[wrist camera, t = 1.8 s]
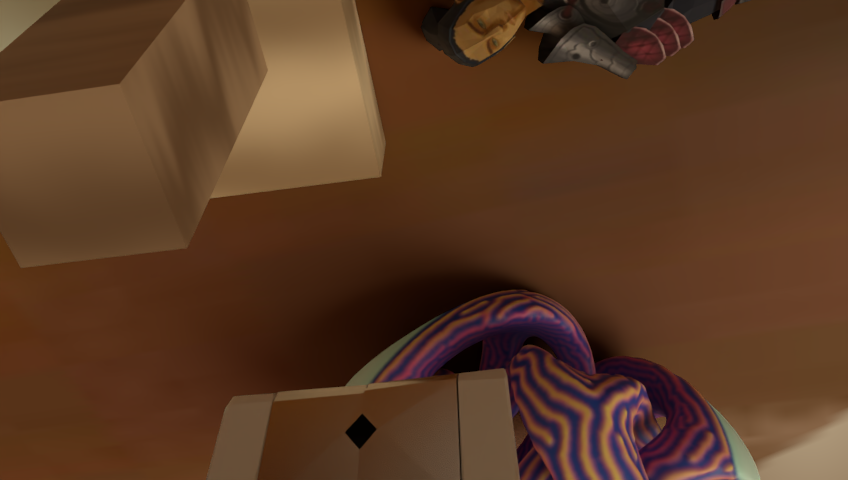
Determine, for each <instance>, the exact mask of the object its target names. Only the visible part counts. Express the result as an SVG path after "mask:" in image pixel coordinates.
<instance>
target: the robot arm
mask: <svg viewBox="0 0 848 480" xmlns="http://www.w3.org/2000/svg"><path fill="white" fill-rule="evenodd" d="M206 480H520V475H519V467H518V459H517V451H516V443H515V435H514V427H513V419H512V410H511V402H510V394H509V386H508V378H507V373H506V370H505V369H504V368H501V369H492V370H483V371H475V372H466V373H459V376H458V373H457V374H448V375H440V376H431V377H422V378H414V379H405V380H396V381H388V382H379V383H370V384H368V385H357V386H345V387H332V388H320V389H307V390H295V391H282V392H278V393H269V394H256V395H243V396H233V398H232V399H231V401H230V402H229V404H228V405H227V406H226V408H225V410H224V414H223V418H222V422H221V425H220V429H219V433H218V437H217V441H216V444H215V448H214V452H213V456H212V459H211V463H210V467H209V471H208V475H207V478H206Z"/></svg>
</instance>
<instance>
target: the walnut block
mask: <svg viewBox="0 0 848 480" xmlns="http://www.w3.org/2000/svg"><path fill="white" fill-rule="evenodd" d="M267 72H268V68H267V65H266V62H265V58H264V55H263V51H262V48H261V45H260V41H259V38H258V34H257V31H256V28H255V24H254V21H253V17H252V14H251V11H250V7H249V4H248V1H247V0H60V1H59V2H58V3H57V4H55V5H54V6H53V7H52V8H51V9H50V10H49V11H47V12H46V13H45V14H44V15H43V16H42V17H40V18H39V19H38V20H37V21H36V22H35V23H34V24H32V25H31V26H30V27H29V28H28V29H27V30H25V31H24V32H23V33H22V34H21V35H20V36H19V37H17V38H16V39H15V40H14V41H13V42H12V43H10V44H9V45H8V46H7V47H6V48H5V49H3V50H2V51H1V52H0V232H1V234H2V235H3V237H4V239H5V241H6V242H7V244H8V246H9V248H10V250H11V251H12V253H13V255H14V257H15V258H16V260H17V262H18V264H19V265H20V267H21V268H24V267H33V266H41V265H49V264H58V263H66V262H75V261H83V260H91V259H100V258H108V257H117V256H125V255H133V254H142V253H150V252H159V251H167V250H175V249H184V248H187V247H188V245H189V243H190V241H191V239H192V236H193V234H194V232H195V230H196V228H197V225H198V223H199V221H200V219H201V217H202V214H203V212H204V210H205V208H206V206H207V204H208V201H209V199H210V197H211V195H212V193H213V190H214V188H215V186H216V184H217V182H218V179H219V177H220V175H221V173H222V171H223V168H224V166H225V164H226V162H227V160H228V157H229V155H230V153H231V151H232V149H233V146H234V144H235V142H236V140H237V138H238V135H239V133H240V131H241V129H242V127H243V124H244V122H245V120H246V118H247V116H248V113H249V111H250V109H251V107H252V105H253V102H254V100H255V98H256V96H257V94H258V92H259V89H260V87H261V85H262V83H263V81H264V78H265V76H266V74H267Z"/></svg>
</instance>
